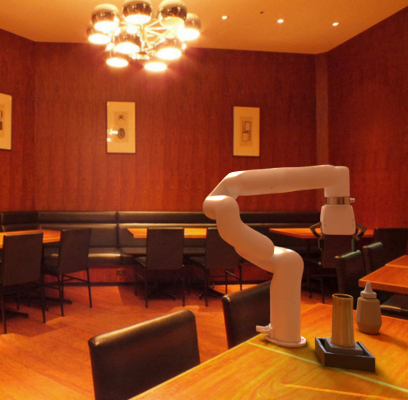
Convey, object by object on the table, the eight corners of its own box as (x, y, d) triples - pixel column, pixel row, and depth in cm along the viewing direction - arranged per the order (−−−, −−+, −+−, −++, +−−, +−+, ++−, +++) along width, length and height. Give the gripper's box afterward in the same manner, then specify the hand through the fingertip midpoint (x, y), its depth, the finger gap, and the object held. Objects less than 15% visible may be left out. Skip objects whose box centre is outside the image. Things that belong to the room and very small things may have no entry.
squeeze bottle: (383, 337, 131) (383, 285, 131) (355, 333, 136) (355, 283, 136) (381, 330, 138) (381, 281, 138) (355, 326, 143) (354, 279, 142)
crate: (324, 368, 108) (324, 352, 108) (314, 351, 120) (314, 337, 120) (375, 374, 104) (375, 358, 104) (360, 355, 116) (360, 341, 116)
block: (331, 364, 110) (331, 347, 110) (324, 353, 117) (324, 337, 117) (363, 367, 107) (363, 350, 107) (354, 356, 115) (354, 340, 115)
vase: (359, 347, 109) (359, 298, 109) (338, 347, 109) (338, 298, 109) (346, 339, 115) (346, 293, 115) (326, 339, 115) (326, 293, 115)
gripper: (363, 201, 132) (364, 250, 132) (307, 202, 137) (308, 248, 138) (369, 201, 124) (370, 253, 125) (310, 202, 130) (311, 252, 131)
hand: (338, 251), depth 131 cm, fingers open, 9 cm apart
